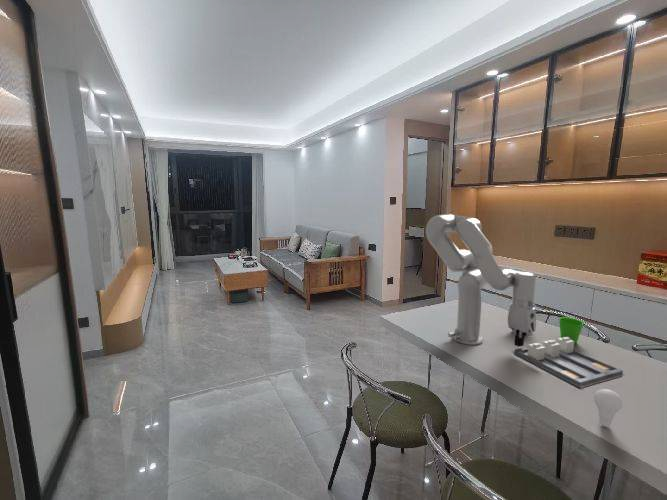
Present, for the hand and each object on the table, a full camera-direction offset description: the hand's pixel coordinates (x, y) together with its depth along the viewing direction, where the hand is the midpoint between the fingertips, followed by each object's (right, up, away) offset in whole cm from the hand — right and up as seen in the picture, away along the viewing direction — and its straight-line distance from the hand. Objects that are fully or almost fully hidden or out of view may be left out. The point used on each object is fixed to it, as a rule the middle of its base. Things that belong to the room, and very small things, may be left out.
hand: (518, 345), depth 138 cm
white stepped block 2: (+10, -3, -4) cm, 11 cm away
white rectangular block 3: (+18, -2, -2) cm, 18 cm away
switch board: (+12, -5, -10) cm, 16 cm away
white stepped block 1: (+3, -3, -7) cm, 8 cm away
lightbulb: (0, -11, -43) cm, 45 cm away
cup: (+26, -2, +8) cm, 27 cm away
